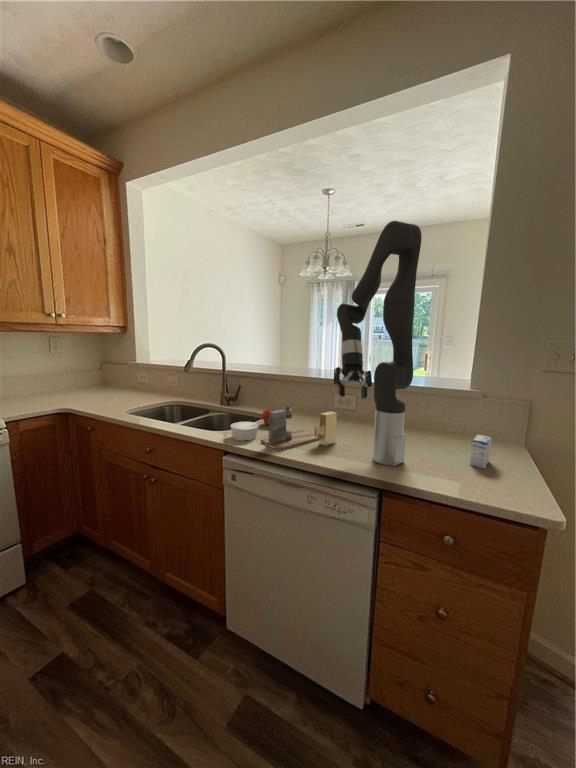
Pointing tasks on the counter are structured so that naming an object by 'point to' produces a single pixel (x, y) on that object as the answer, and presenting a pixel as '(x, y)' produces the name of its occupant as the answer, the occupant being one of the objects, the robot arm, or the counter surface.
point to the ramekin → (244, 430)
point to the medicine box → (480, 451)
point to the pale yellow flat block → (326, 428)
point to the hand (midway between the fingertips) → (353, 397)
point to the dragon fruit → (266, 415)
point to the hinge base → (295, 440)
